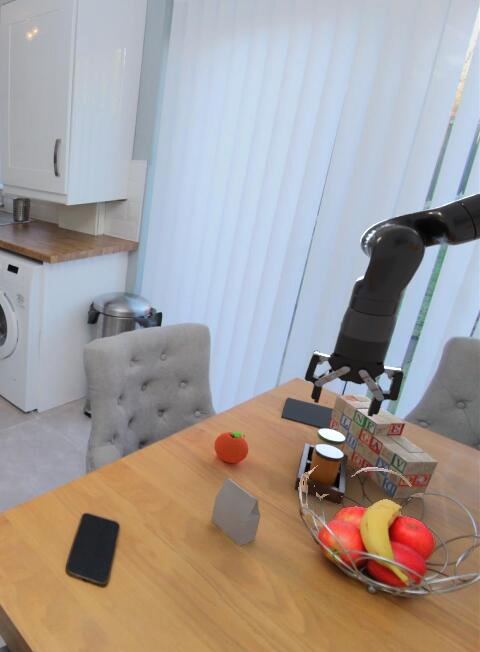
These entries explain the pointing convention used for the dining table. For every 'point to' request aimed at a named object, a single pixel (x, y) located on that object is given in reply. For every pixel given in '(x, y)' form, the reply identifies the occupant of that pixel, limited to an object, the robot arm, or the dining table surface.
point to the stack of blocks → (381, 446)
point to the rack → (319, 487)
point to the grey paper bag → (236, 513)
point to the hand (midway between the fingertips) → (342, 407)
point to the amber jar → (325, 464)
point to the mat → (307, 413)
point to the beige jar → (329, 439)
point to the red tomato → (231, 447)
